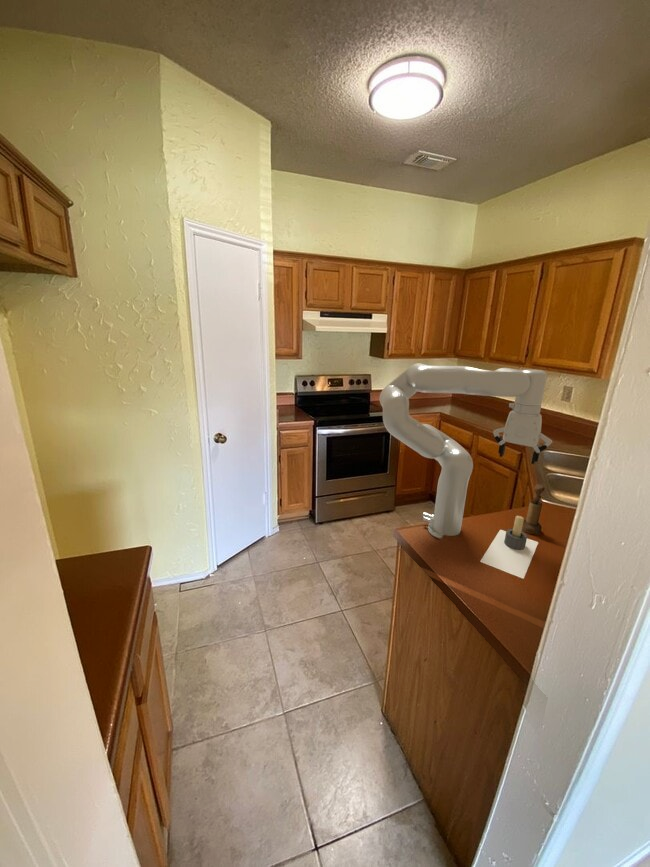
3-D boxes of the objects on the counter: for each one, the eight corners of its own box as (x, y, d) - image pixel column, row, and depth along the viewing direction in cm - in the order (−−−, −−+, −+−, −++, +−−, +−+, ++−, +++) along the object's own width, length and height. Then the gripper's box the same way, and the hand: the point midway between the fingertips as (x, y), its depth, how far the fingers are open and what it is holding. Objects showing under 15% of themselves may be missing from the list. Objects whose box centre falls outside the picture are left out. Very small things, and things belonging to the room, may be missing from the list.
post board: (479, 565, 111) (485, 532, 107) (499, 533, 129) (505, 504, 125) (522, 583, 104) (530, 548, 100) (537, 546, 122) (544, 515, 118)
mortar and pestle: (521, 532, 129) (531, 486, 124) (518, 523, 135) (527, 479, 130) (542, 536, 128) (553, 489, 122) (538, 526, 134) (548, 482, 128)
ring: (502, 545, 119) (504, 534, 118) (506, 537, 123) (508, 527, 122) (522, 552, 115) (524, 541, 114) (526, 544, 120) (528, 533, 119)
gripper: (494, 406, 117) (486, 456, 122) (556, 415, 107) (544, 469, 112) (500, 403, 123) (492, 450, 128) (559, 411, 113) (548, 462, 118)
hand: (517, 459), depth 120 cm, fingers open, 9 cm apart
